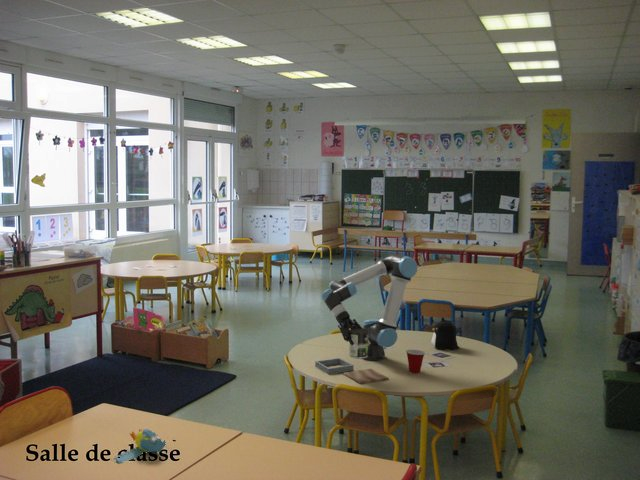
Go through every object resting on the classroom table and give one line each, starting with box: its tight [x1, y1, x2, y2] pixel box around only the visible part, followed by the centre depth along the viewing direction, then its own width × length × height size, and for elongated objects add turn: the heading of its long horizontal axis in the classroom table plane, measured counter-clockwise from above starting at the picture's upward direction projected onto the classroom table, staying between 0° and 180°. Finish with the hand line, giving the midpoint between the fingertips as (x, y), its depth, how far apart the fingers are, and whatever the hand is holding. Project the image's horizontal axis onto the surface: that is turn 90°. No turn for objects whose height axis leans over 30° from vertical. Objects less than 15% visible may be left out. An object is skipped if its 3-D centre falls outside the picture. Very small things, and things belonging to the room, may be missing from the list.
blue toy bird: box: [113, 428, 167, 465], centre depth 245 cm, size 28×9×15 cm
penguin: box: [430, 319, 460, 350], centre depth 401 cm, size 18×18×17 cm
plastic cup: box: [405, 349, 426, 374], centre depth 350 cm, size 11×11×12 cm
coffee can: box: [348, 329, 368, 360], centre depth 340 cm, size 10×10×14 cm
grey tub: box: [314, 357, 355, 375], centre depth 355 cm, size 16×16×3 cm
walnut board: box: [342, 368, 390, 385], centre depth 340 cm, size 18×18×1 cm
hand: (363, 347), depth 338 cm, fingers closed on coffee can, 10 cm apart
